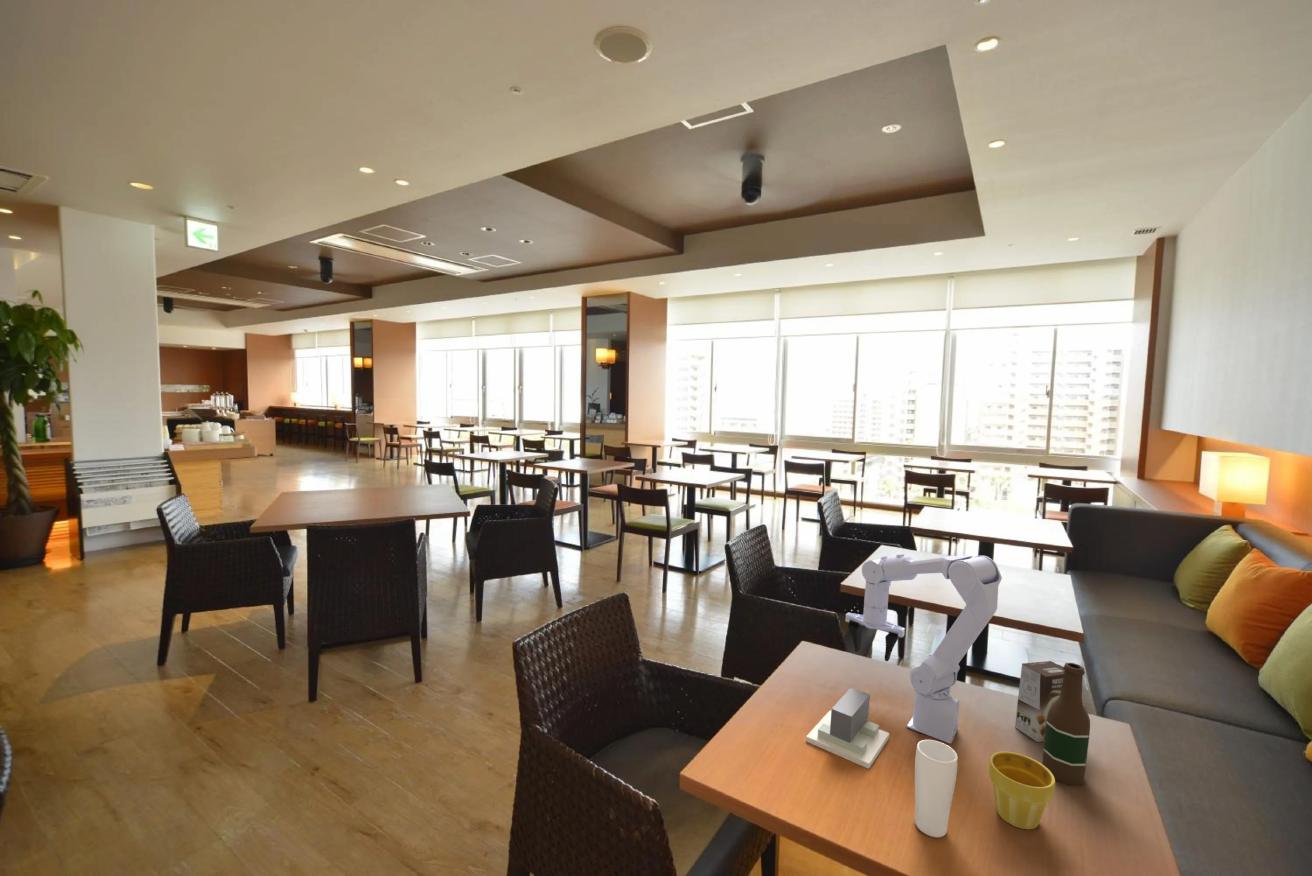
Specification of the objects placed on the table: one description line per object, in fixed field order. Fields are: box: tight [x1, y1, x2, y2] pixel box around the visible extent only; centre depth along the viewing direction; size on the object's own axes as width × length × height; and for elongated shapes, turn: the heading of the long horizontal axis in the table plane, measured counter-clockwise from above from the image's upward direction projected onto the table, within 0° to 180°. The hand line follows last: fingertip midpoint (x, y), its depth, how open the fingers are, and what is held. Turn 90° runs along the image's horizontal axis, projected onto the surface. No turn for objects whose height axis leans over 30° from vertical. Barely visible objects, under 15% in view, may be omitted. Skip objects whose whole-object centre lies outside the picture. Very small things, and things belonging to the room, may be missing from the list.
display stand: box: [805, 709, 890, 770], centre depth 130 cm, size 14×14×3 cm
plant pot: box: [988, 751, 1056, 830], centre depth 107 cm, size 10×10×10 cm
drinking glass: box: [914, 739, 959, 838], centre depth 104 cm, size 7×7×15 cm
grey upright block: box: [830, 687, 871, 743], centre depth 130 cm, size 4×12×6 cm, turn 142°
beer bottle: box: [1041, 662, 1091, 786], centre depth 120 cm, size 8×8×24 cm
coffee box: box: [1014, 660, 1065, 743], centre depth 135 cm, size 9×6×16 cm
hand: (872, 655), depth 149 cm, fingers open, 7 cm apart
